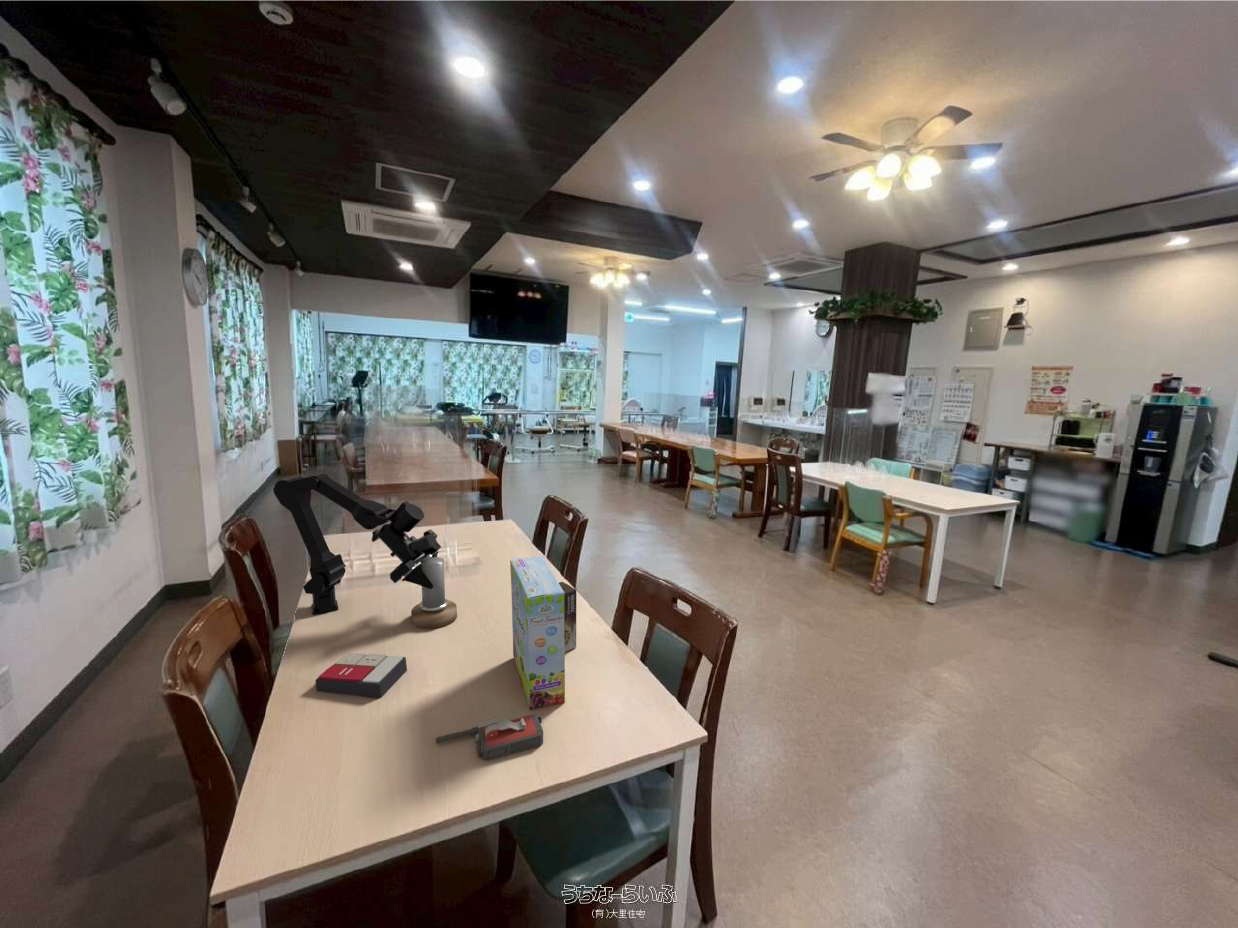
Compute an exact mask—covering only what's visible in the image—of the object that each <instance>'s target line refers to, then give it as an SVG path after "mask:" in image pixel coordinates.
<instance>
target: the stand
mask: <svg viewBox="0 0 1238 928" xmlns="http://www.w3.org/2000/svg"><path fill="white" fill-rule="evenodd" d="M447 600H448V606H447V607H445V608H444V609H441V610H438V611H423V610H421V609H420V608H419V604H420V603H418V604H416V605H414V606H413V608H412V607H411V611H410V616H411V624H412V625H413V627H415V628H418V629H421V630H435V629H441V628H444V627H447V626H450V625H451V624H452V623H454V622H455V621H456V619H457V617H458V613H457V612H458V607H457V604H456V602H454V601H452V600H449V599H447Z"/></svg>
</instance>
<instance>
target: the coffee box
mask: <svg viewBox="0 0 1238 928" xmlns="http://www.w3.org/2000/svg"><path fill="white" fill-rule="evenodd" d="M558 583H559V585H560V586H561V588H562V590H563V591H564V593H565V653H566V652H568V651H571V650H574V649H575V648H577V589H576V588H573V587H572V586H571V585H570V584H567V583H566V582H564V581H560V582H558Z"/></svg>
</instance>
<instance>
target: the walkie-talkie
mask: <svg viewBox="0 0 1238 928" xmlns="http://www.w3.org/2000/svg"><path fill="white" fill-rule="evenodd" d="M542 723H543V722H542V717H540V716H538V715H537V714H530V715H526V716H523V717H522V716H521V717H518V718H514V719H505V718H501V717H497V718H494V719H493V718H492V719H490V720H486V721H478V722H477V726H475V727H471V728H470V729H465V730H462V731H457V732H453V733H449V734H445V735H441V736H437V737H436V738H435V743H436V744H439V743H445V742H449V741H451V740H456V739H461V738H464V737H468V736H475V738H474V740H475V743H477V744H476V754H477V755H476V756H478V757H482V761H483V762H488V761H492V760H495V759H496V760H497V759H499V758H504V757H507V756H510V755H513V754H516V753H517V754H518V753H521V752H524V751H528V750H531V749H536V748H539V747H541V746H543V744H544V730H543V727H542V725H541V724H542Z"/></svg>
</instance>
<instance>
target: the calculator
mask: <svg viewBox="0 0 1238 928" xmlns="http://www.w3.org/2000/svg"><path fill="white" fill-rule="evenodd" d="M407 671H408V667H407V658H406V656H402V655H401V656H400V655H387V654H381V653H380V654H379V653H367V654H366V653H363V652H347V653H345V654H344V655H343V656H341V657H340V658H339V659H338V660H337V661H335V662H334V664H332V665H330V666H329V667H328V668H326V669H325V671H323V672H322V673H321V674H319V676H318V677H316V679H315V687H316V692H321V693H329V694H336V695H337V694H339V695H347V696H361V697H362V698H369V699H382V698H383V697H384V696H385V695H386V694H387V692H388V691H389V690H390V689H391V688H392V687H394V685H395V684H396V683H397V682H398V681H399V680H400V678H402V676H403V675H405V674H406V672H407Z"/></svg>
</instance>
